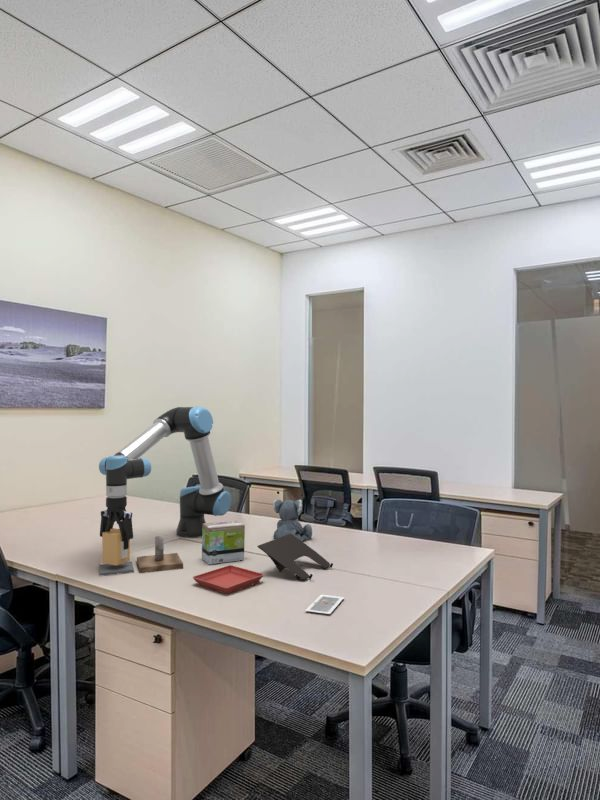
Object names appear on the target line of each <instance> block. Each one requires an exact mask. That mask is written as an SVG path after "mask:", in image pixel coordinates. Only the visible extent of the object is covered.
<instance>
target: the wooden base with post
mask: <svg viewBox="0 0 600 800" xmlns="http://www.w3.org/2000/svg"><path fill="white" fill-rule="evenodd" d="M164 548H165V547H164V536H163V535H157V536H155V537H154V554H153V555H152V554H151V555H142V556H136V565H137V568H138V571H139V572H138V573H139V574H145V573H146V572H147V573H155V571H156V572H163V571H175V570H182V569H184V562H183V560H182V559H181V557H180V555H179V554H178V553H177V552H174V553H173V552H171V553H164V550H165V549H164ZM147 573H146V574H147Z"/></svg>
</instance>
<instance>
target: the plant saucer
mask: <svg viewBox="0 0 600 800" xmlns="http://www.w3.org/2000/svg"><path fill="white" fill-rule="evenodd" d="M264 575H265V574H264V573H261V572H258V571H254V570H249V569H247V568H243V567H239V566H236V565H226V566H222V567H218V568H216V569H213V570H210V571H206V572H203V573H200V574H197V575H194V576H192V579H193V581H195V582H196V584H198V585H199V586H202V587H205V588H208V589H211V590H214V591H217V592H220V593H223V594H230V592H231V593H234V592H235V591H239V590H241V588H242V589H244V588H247V587H250V586H253V585H255V583H256V584H257V583H259V581H260V580H261V579H262V578H263V577H264ZM252 584H253V585H252ZM249 585H250V586H249Z"/></svg>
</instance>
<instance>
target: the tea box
mask: <svg viewBox="0 0 600 800" xmlns="http://www.w3.org/2000/svg"><path fill="white" fill-rule="evenodd" d="M245 531H246V527H245V524H244V523H242V522H241V521H238V520H227V521H216V522H206V523H203V525H202V536H201V559H202V560H203V562H205V563H206V564H208V566H210V565H215V564H221V563H222V564H224V563H232V562H239V561H240V560H243V561H244V560H245V535H246V534H245Z"/></svg>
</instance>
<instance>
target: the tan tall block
mask: <svg viewBox="0 0 600 800" xmlns="http://www.w3.org/2000/svg"><path fill="white" fill-rule="evenodd" d="M101 538H102V549H101V550H102V551H101V552H102V556H101V557H102V563H101V564H110V565H119V564H122V563H125V562H129V561H130V560H131V554H130V553H131V547H130V546H131V545H130V544H131V539H130V540H129V548H128V549H127V557H126V558H123V559H121V540H123V539H122V536H121V532H120V529H119V528H114V527H113V528H111V529H110V531H108V532H104V533H102V537H101Z"/></svg>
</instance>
